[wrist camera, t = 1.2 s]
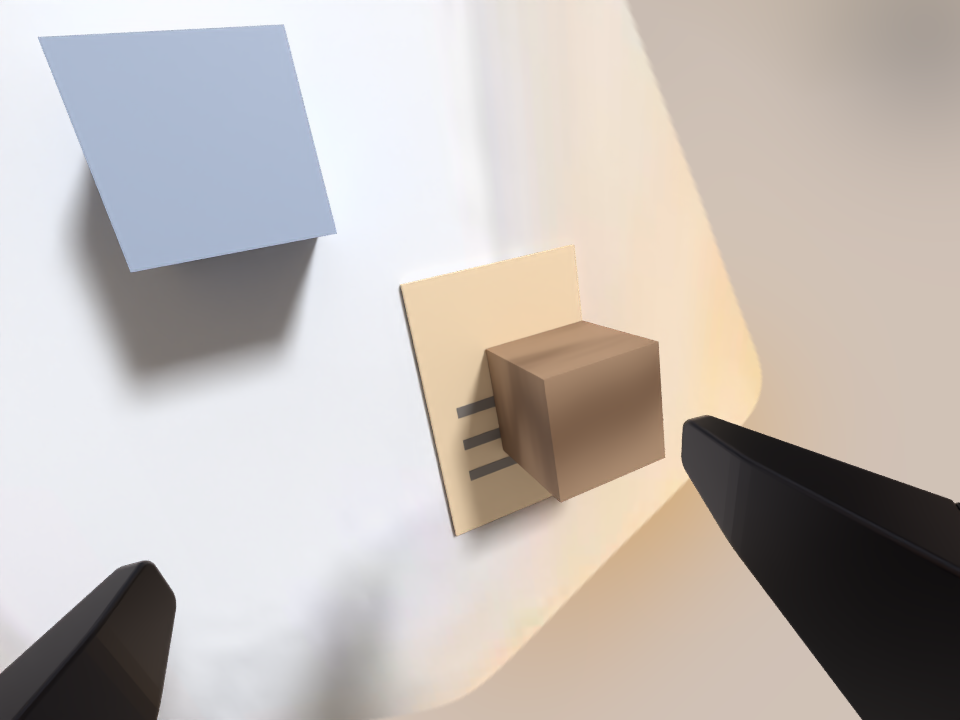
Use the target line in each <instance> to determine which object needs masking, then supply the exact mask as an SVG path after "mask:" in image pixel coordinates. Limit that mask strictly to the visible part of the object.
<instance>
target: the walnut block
mask: <svg viewBox="0 0 960 720" xmlns="http://www.w3.org/2000/svg"><path fill="white" fill-rule="evenodd" d="M486 355H487V361H488V367H489V372H490V378H491V384H492V390H493V395H494V401H495V407H496V413H497V418H498V424H499V430H500V435H501V441H502V447H503V451H505V452H506V453H507V454H508V455H509V456H510V457H511V458H512V459H513V460H514V461H516V462H517V463H518V464H519V465H520V466H521V467H522V468H523V469H524V470H525V471H527V472H528V473H529V474H530V475H531V476H532V477H533V478H534V479H535V480H536V481H538V482H539V483H540V484H541V485H542V486H543V487H544V488H545V489H546V490H547V491H549V492H550V493H551V494H552V495H553V496H554V497H555V498H556V499H557V500H558V501H560V502H563V501H565V500H568V499H570V498H572V497H575V496H577V495H579V494H582V493H584V492H586V491H589V490H591V489H593V488H596V487H598V486H600V485H603V484H605V483H607V482H610V481H612V480H614V479H616V478H619V477H621V476H623V475H626V474H628V473H630V472H633V471H635V470H637V469H640V468H642V467H644V466H647V465H649V464H651V463H654V462H656V461H658V460H661V459H663V458H665V448H664V431H663V413H662V396H661V378H660V361H659V343H658V342H657V341H654V340H650V339H647V338H643V337H639V336H636V335H632V334H629V333H625V332H621V331H618V330H614V329H611V328H607V327H603V326H600V325H596V324H593V323H589V322H585V321H579V322H575V323H572V324H569V325H565V326H562V327H558V328H555V329H552V330H548V331H545V332H542V333H538V334H535V335H531V336H528V337H525V338H521V339H518V340H514V341H511V342H508V343H504V344H501V345H497V346H494V347H491V348H487V349H486Z"/></svg>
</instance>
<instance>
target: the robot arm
mask: <svg viewBox="0 0 960 720" xmlns="http://www.w3.org/2000/svg"><path fill="white" fill-rule="evenodd" d="M681 458H682V463H683V466H684V469H685V471H686V472H687V474H688V476H689V477H690V479H691V481H692V482H693V484H694V486H695V487H696V489H697V491H698V492H699V494H700V495H701V497H702V499H703V501H704V502H705V504H706V506H707V507H708V508H709V511H710V512H711V514H712V515H713V517H714V519H715V520H716V522H717V524H718V525H719V527H720V529H721V530H722V532H723V533H724V535H725V537H726V538H727V540H728V541H729V543H730V544H731V546H732V547H733V549H734V550H735V551H736V553H737V554H738V556H739V557H740V558H741V560H742V561H743V562H744V564H745V565H746V566H747V568H748V569H749V570H750V572H751V573H752V574H753V575H754V577H755V578H756V580H757V581H758V582H759V583H760V585H761V586H762V587H763V589H764V590H765V591H766V593H767V594H768V595H769V597H770V598H771V599H772V601H773V602H774V603H775V605H776V606H777V607H778V609H779V610H780V611H781V613H782V614H783V615H784V617H785V618H786V619H787V621H788V622H789V623H790V625H791V626H792V627H793V629H794V630H795V631H796V633H797V634H798V635H799V637H800V638H801V639H802V640H803V642H804V643H805V645H806V646H807V647H808V648H809V650H810V651H811V653H812V654H813V655H814V656H815V658H816V659H817V660H818V662H819V663H820V664H821V666H822V667H823V668H824V670H825V671H826V672H827V674H828V675H829V676H830V678H831V679H832V680H833V682H834V683H835V684H836V686H837V687H838V688H839V690H840V691H841V692H842V694H843V695H844V696H845V697H846V699H847V700H848V702H849V703H850V704H851V706H852V707H853V708H854V710H855V711H856V712H857V713H858V715H859V716H860V717H861V719H862V720H960V503H954V502H953V501H952V500H950V499H948V498H945V497H942V496H939V495H936V494H933V493H931V492H928V491H925V490H922V489H919V488H916V487H913V486H910V485H907V484H905V483H902V482H899V481H896V480H893V479H890V478H888V477H885V476H882V475H879V474H876V473H873V472H870V471H867V470H865V469H862V468H859V467H856V466H853V465H850V464H847V463H845V462H842V461H839V460H836V459H833V458H830V457H827V456H824V455H822V454H819V453H816V452H813V451H810V450H807V449H804V448H801V447H799V446H796V445H793V444H790V443H787V442H784V441H781V440H779V439H776V438H773V437H770V436H767V435H764V434H761V433H759V432H756V431H753V430H750V429H747V428H744V427H741V426H738V425H736V424H733V423H730V422H727V421H724V420H721V419H718V418H716V417H713V416H709V415H704V416H700V417H696V418H692V419H688V420H687V421H685V423H684V425H683V432H682V452H681ZM175 612H176V599H175V595H174V593H173V591H172V589H171V588H170V586H169V585H168V583H167V582H166V580H165V579H164V577H163V576H162V574H161V573H160V571H159V570H158V569H157V567H156V566H155V564H154V563H152V562H151V561H140V562H136V563H132V564H128V565H125V566H122V567H120V568H118V569H116V570H115V571H114V572H113V573H112V574H111V575H110V576H108V577H107V578H106V579H105V580H104V581H103V582H102V583H101V584H100V585H98V586H97V587H96V588H95V589H94V590H93V591H92V592H91V593H90V594H88V595H87V596H86V597H85V598H84V599H83V600H82V601H81V602H80V603H78V604H77V605H76V606H75V607H74V608H73V609H72V610H71V611H70V612H68V613H67V614H66V615H65V616H64V617H63V618H62V619H61V620H60V621H58V622H57V623H56V624H55V625H54V626H53V627H52V628H51V629H50V630H48V631H47V632H46V633H45V634H44V635H43V636H42V637H41V638H40V639H38V640H37V641H36V642H35V643H34V644H33V645H32V646H31V647H30V648H28V649H27V650H26V651H25V652H24V653H23V654H22V655H21V656H20V657H18V658H17V659H16V660H15V661H14V662H13V663H12V664H11V665H10V666H8V667H7V668H6V669H5V670H4V671H3V672H2V673H1V674H0V720H157V716H158V712H159V708H160V703H161V698H162V692H163V686H164V680H165V674H166V668H167V662H168V655H169V649H170V643H171V637H172V631H173V625H174V618H175Z"/></svg>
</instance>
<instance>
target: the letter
mask: <svg viewBox="0 0 960 720" xmlns="http://www.w3.org/2000/svg"><path fill="white" fill-rule="evenodd" d="M400 286H401V290H402V295H403V299H404V304H405V308H406V313H407V317H408V322H409V326H410V331H411V335H412V340H413V344H414V349H415V353H416V358H417V363H418V367H419V372H420V376H421V381H422V385H423V390H424V394H425V399H426V403H427V408H428V412H429V417H430V421H431V426H432V430H433V435H434V439H435V444H436V449H437V453H438V458H439V462H440V467H441V471H442V476H443V480H444V485H445V489H446V494H447V498H448V503H449V507H450V512H451V516H452V521H453V525H454V530H455V534H456V536H458V535H461V534H463V533H465V532H468V531H470V530H472V529H475V528H477V527H480V526H482V525H484V524H487V523H489V522H492V521H494V520H496V519H499V518H501V517H503V516H506V515H508V514H511V513H513V512H515V511H518V510H520V509H523V508H525V507H527V506H530V505H532V504H534V503H537V502H539V501H542V500H544V499H546V498H549V497H551V496H553V495H552V494H551V493H550V492H549V491H547V490H546V489H545V488H544V487H543V486H542V485H541V484H540V483H539V482H538V481H536V480H535V479H534V478H533V477H532V476H531V475H530V474H529V473H528V472H527V471H525V470H524V469H523V468H522V467H521V466H520V465H519V464H518V463H517V462H516V461H514V460H513V459H512V458H511V457H510V456H509V455H508V454H507V453H506V452H505V451H503V447H502V441H501V435H500V430H499V424H498V418H497V413H496V407H495V401H494V395H493V390H492V384H491V378H490V372H489V367H488V361H487V355H486V349H487V348H491V347H494V346H497V345H501V344H504V343H508V342H511V341H514V340H518V339H521V338H525V337H528V336H531V335H535V334H538V333H542V332H545V331H548V330H552V329H555V328H558V327H562V326H565V325H569V324H572V323H575V322H579V321H582V315H581V305H580V296H579V286H578V276H577V266H576V257H575V247H574V245H569V246H565V247H560V248H556V249H552V250H547V251H543V252H539V253H534V254H530V255H526V256H521V257H517V258H513V259H509V260H504V261H500V262H496V263H491V264H487V265H483V266H478V267H474V268H470V269H465V270H461V271H457V272H453V273H448V274H444V275H440V276H435V277H431V278H427V279H422V280H418V281H414V282H409V283H405V284H401V285H400Z"/></svg>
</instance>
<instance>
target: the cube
mask: <svg viewBox="0 0 960 720" xmlns="http://www.w3.org/2000/svg"><path fill="white" fill-rule="evenodd" d="M38 39H39V42H40V44H41V47H42V49H43V52H44V54H45V57H46V59H47V62H48V64H49V67H50V69H51V72H52V75H53V77H54V80H55V82H56V85H57V87H58V90H59V92H60V95H61V97H62V100H63V102H64V105H65V107H66V110H67V112H68V115H69V118H70V120H71V123H72V125H73V128H74V130H75V133H76V135H77V138H78V140H79V143H80V145H81V148H82V150H83V153H84V156H85V158H86V161H87V163H88V166H89V168H90V171H91V173H92V176H93V178H94V181H95V183H96V186H97V188H98V191H99V193H100V196H101V199H102V201H103V204H104V206H105V209H106V211H107V214H108V216H109V219H110V221H111V224H112V226H113V229H114V231H115V234H116V237H117V239H118V242H119V244H120V247H121V249H122V252H123V254H124V257H125V259H126V262H127V264H128V267H129V269H130V272H136V271H141V270H146V269H152V268H157V267H162V266H168V265H173V264H178V263H183V262H189V261H194V260H199V259H205V258H210V257H215V256H220V255H226V254H231V253H236V252H242V251H247V250H252V249H257V248H263V247H268V246H273V245H279V244H284V243H289V242H294V241H300V240H305V239H310V238H316V237H321V236H326V235H331V234H337V232H336V228H335V224H334V220H333V216H332V212H331V208H330V204H329V200H328V197H327V193H326V189H325V185H324V181H323V177H322V173H321V169H320V165H319V161H318V157H317V153H316V149H315V145H314V141H313V138H312V134H311V130H310V126H309V122H308V118H307V114H306V110H305V106H304V102H303V98H302V94H301V90H300V86H299V82H298V79H297V75H296V71H295V67H294V63H293V59H292V55H291V51H290V47H289V43H288V39H287V35H286V31H285V27H284V25H265V26H246V27H226V28H207V29H187V30H168V31H148V32H129V33H109V34H90V35H70V36H51V37H38Z"/></svg>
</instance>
